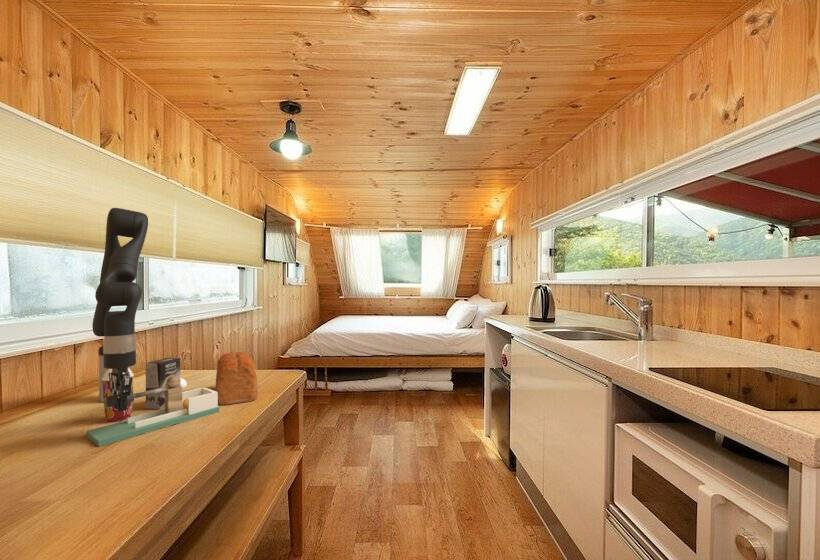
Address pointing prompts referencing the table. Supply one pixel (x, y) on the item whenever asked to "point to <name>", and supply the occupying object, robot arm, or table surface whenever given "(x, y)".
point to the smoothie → (111, 412)
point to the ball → (185, 403)
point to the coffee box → (160, 379)
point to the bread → (236, 379)
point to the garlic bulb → (183, 383)
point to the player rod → (171, 393)
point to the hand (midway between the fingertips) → (120, 409)
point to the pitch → (158, 418)
